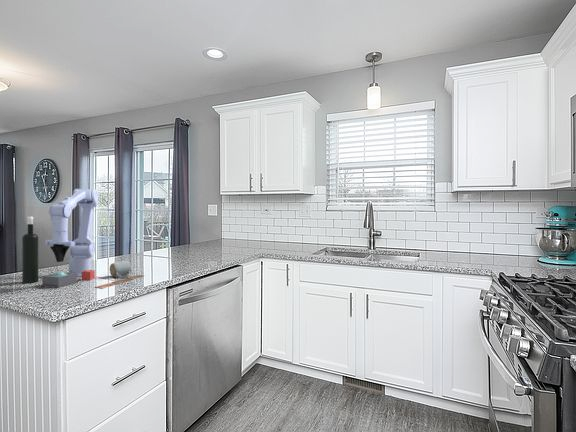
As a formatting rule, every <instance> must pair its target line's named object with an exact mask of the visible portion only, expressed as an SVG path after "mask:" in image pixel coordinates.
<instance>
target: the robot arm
mask: <svg viewBox="0 0 576 432" xmlns="http://www.w3.org/2000/svg"><path fill="white" fill-rule="evenodd" d="M98 202H99V193H98V191H97V189H95V188H91V189H90V188H89V189H87V188H75V189H74V190H73V193H72V195H71V196H70V197H69V196H65V197H64V198H63V199H62V200H61V201H59V202H58V203H57V204H56V203H55V204H53V205H51V206H49V210H48V213H49V216H50V221H51V222H52V223H51V224H52V225H51V226H52V227H51V233H52V234H51V239H45V244H44V245H45V246H47V245H50V249H51V250H52V252H53V254H54V257H55V260H56V263H60V262H64V260H65V256H66V253H67V252H68V250H69V254H70V256H71V258H70V259H69V261H68V273H77V277H82V272H83V271H85V270H92V261H91V260H92V259H91V258H92V257H93V256H94V255H95V252H96V245H95V244H96V243H95V241H93V240H92V239H91V238H90V237H91V232H92V231H91V230H92V223H93V219H94V218H93V217H94V210H95V207H97V205H98V204H99V203H98ZM77 205H78V206H79V207H82V212H81V218H80V224H79V231H78V237H76V239H73V241H72V240H71V241H70V240H69V234H68V233H69V221H68V220H69V217H70V216H71V215H72V212H73V210H74V209H75V208H76V207H77Z"/></svg>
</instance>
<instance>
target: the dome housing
mask: <svg viewBox="0 0 576 432" xmlns="http://www.w3.org/2000/svg"><path fill="white" fill-rule="evenodd" d="M63 272H64V273H65V274H68V275H64V276H60V277H58V276H52V275H54V274H56V273H57V272H54V273H48V274H45V275H44V274H43V275H42V277H41V278H42V279H41V281H42V282H41V283H42V285H41V286H42V287H47V288H48V287H50V288H59V289H60V288H63V287H67V286H71V285H74V284H78V276H77V273H69V271H68V272H67V271H66V272H65V271H63Z"/></svg>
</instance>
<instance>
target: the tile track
mask: <svg viewBox="0 0 576 432" xmlns="http://www.w3.org/2000/svg"><path fill="white" fill-rule="evenodd" d="M142 277H143V278H144V277H145V275H142V274H135V275H133V276H129V277H128V278H120V279H119V280H115V281H112V282H108V283H104V284H101V285H97V286H94V288H96V289H106V288H109V287H112V286H116V285H119V284H123V283H125V282H129V281H132V280H135V279H139V278H142Z"/></svg>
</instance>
